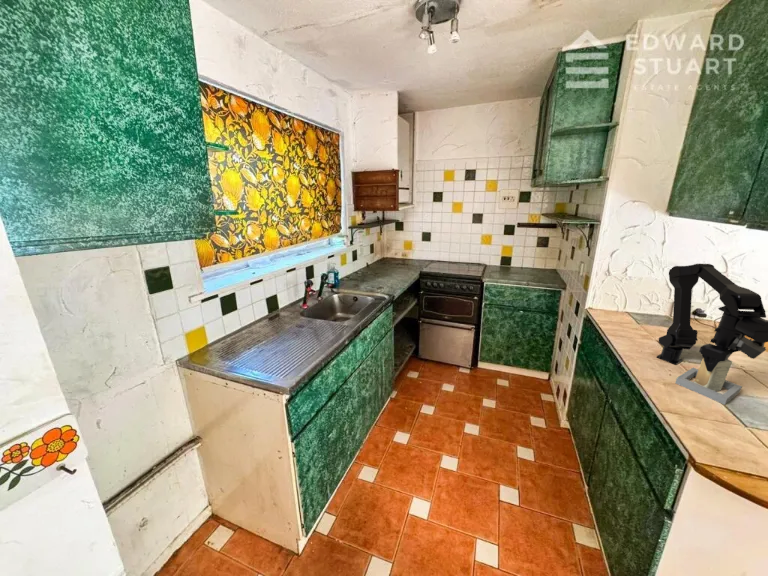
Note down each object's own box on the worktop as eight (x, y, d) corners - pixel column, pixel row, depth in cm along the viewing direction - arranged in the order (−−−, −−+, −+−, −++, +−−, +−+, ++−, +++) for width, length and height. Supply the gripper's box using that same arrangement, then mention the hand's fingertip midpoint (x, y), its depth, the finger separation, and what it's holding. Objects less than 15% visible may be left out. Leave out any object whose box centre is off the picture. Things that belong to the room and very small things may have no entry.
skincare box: (708, 383, 111) (719, 354, 107) (721, 391, 107) (734, 361, 103) (691, 384, 111) (702, 355, 107) (704, 392, 107) (716, 362, 103)
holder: (691, 372, 117) (693, 367, 116) (739, 392, 106) (742, 386, 105) (675, 383, 112) (677, 377, 111) (724, 404, 101) (727, 398, 100)
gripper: (757, 345, 90) (737, 388, 95) (777, 331, 98) (758, 371, 103) (706, 330, 99) (691, 370, 105) (729, 318, 107) (713, 356, 113)
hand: (714, 367), depth 106 cm, fingers open, 9 cm apart
